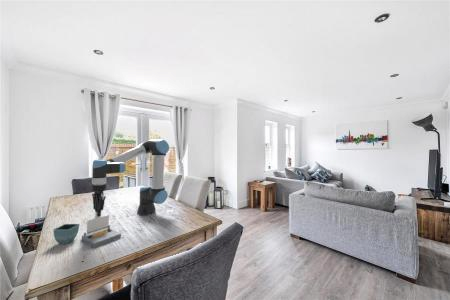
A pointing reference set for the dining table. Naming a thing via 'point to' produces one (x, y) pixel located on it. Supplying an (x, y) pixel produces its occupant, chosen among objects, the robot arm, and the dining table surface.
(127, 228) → the dining table surface
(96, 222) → the cover
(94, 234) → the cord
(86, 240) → the desk card holder
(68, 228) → the flower pot
